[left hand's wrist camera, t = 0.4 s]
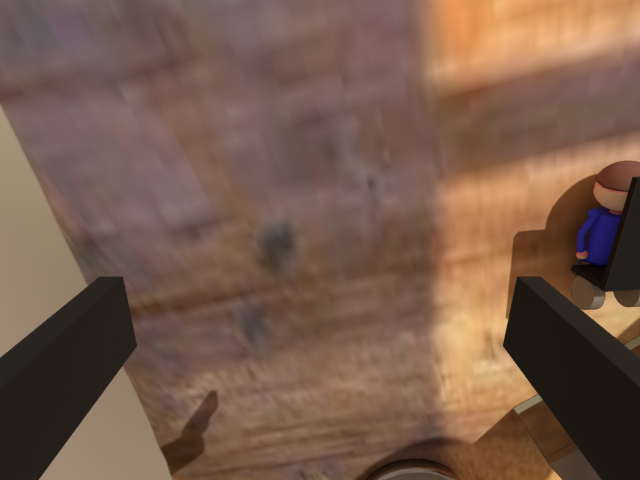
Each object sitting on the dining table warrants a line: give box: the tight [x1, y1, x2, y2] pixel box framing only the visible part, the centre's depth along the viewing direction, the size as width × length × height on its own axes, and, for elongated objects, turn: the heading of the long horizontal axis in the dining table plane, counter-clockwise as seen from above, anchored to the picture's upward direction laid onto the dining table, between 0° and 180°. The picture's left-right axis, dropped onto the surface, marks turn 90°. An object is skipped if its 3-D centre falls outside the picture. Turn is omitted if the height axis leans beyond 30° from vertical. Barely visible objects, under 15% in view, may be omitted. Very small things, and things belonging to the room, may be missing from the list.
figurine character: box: [571, 161, 640, 310], centre depth 38 cm, size 7×8×15 cm
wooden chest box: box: [514, 336, 640, 480], centre depth 46 cm, size 18×11×8 cm, turn 131°
